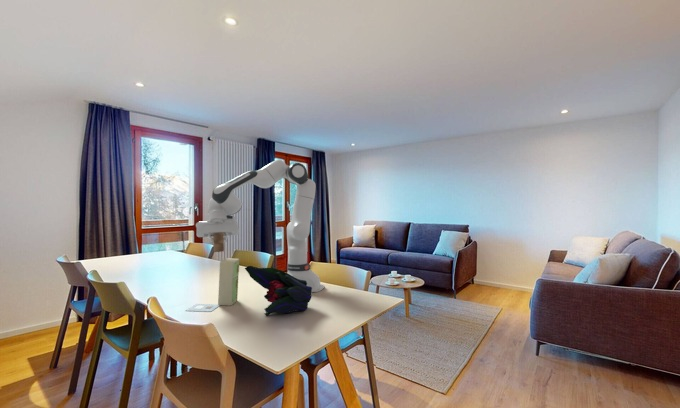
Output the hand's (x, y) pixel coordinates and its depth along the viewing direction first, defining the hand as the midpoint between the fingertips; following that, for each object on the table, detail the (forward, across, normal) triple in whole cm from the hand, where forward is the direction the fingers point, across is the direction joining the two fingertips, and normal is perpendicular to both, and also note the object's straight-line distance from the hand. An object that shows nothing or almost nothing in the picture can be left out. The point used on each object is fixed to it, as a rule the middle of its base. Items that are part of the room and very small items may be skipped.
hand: (218, 241), depth 148 cm
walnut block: (+3, 0, +4) cm, 5 cm away
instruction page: (+27, -7, +15) cm, 31 cm away
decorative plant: (+41, +23, +2) cm, 47 cm away
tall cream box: (+25, +4, +17) cm, 31 cm away
